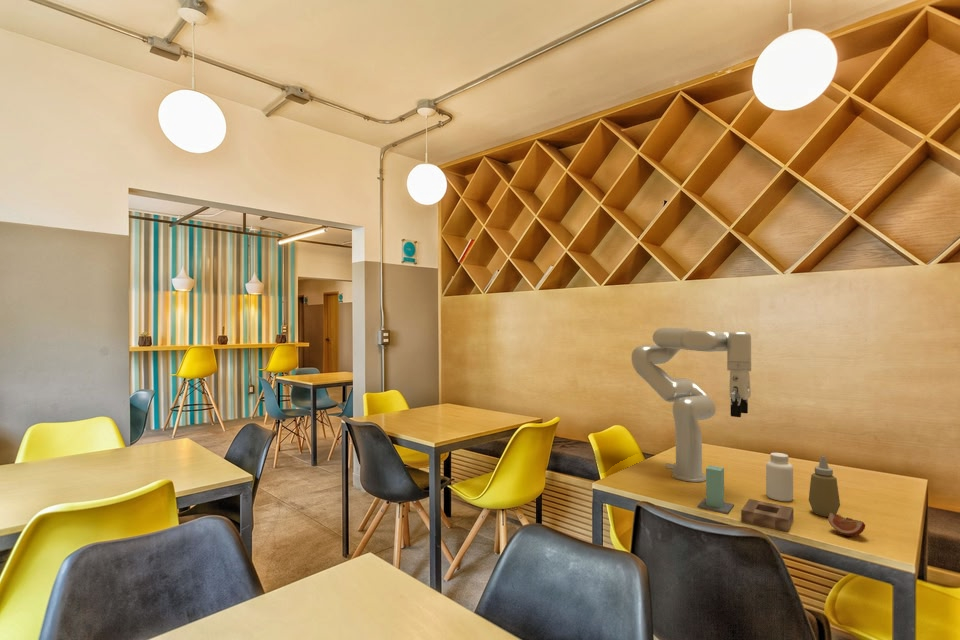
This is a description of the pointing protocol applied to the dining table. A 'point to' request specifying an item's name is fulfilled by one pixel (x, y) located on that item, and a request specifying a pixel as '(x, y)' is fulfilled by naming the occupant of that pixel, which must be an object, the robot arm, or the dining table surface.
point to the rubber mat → (724, 509)
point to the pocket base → (767, 515)
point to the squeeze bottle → (824, 490)
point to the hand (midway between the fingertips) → (739, 414)
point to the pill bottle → (779, 478)
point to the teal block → (715, 486)
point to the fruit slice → (846, 525)
